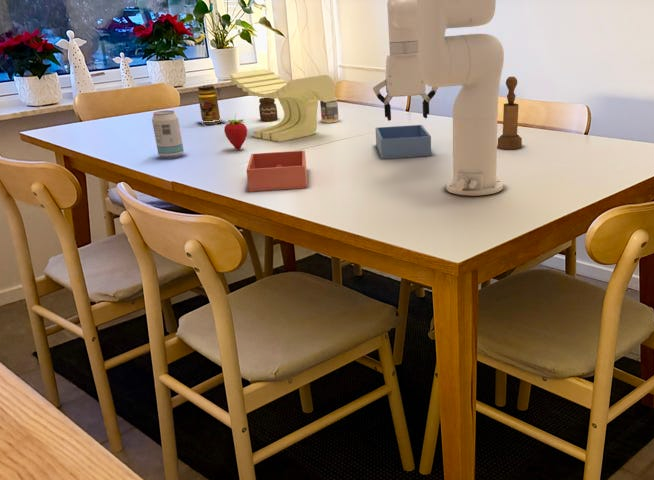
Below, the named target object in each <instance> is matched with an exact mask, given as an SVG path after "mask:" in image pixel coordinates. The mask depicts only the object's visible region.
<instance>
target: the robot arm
mask: <svg viewBox="0 0 654 480" xmlns="http://www.w3.org/2000/svg"><path fill="white" fill-rule="evenodd" d="M496 1H497V0H387V2H386V5H387V6H386V7H387V26H388V27H387V28H388V45H389V55H386V59H385V79H383V80H382V81H381V82H379V83H377V84H376V85H374V86H373V87H372V90H373V92H374V94H375V96H376V98H377V99H378V100H379V101H380V102H381V103H382V104H383V106H384V117H385V118H387V121H388V122H390V121H392V109H391V107H392V106H391V104H390V102H391V101H392V99H393V97H395V98H397V97H399V98H400V97H413V96H415V97H416V96H420V97H421V98H422V99H423V101H422V117H423V118H424V119H428V115H430V102H431V100H432V99H433V98H434V97H435V95H436V93H437V91H438V89H439V88H447V87H457V86H461V88H460V90H459V92H458V93H457V95H456V97H455V99H454V103H453V106H452V179H451V180H449V181H447V183H445V187H446V188H445V189H446V191H447V192H449V193H451V194H453V195H454V194H455V195H459V196H470V197H471V196H472V197H474V196H486V195H493V194H496V193H499V192H501V191H502V190H503V189H504V183H503V181H501V180H500V179H498V178H497V164H498V163H497V157H498V118H499V117H498V115H499V114H498V113H499V93H500V84H501V78H502V73H503V68H504V60H505V53H504V52H505V51H504V47H503V44H502V42H501V41H500V39H498V38H497V37H496V36H494V35H492V34H487V33H469V34H468V33H467V34H457V35H446V30H448V29H461V28H473V27H480V26H484V25H487V24H489V23H490V22H491V21H492V20H493V18H494V16H495V12H496V4H497V2H496ZM427 87H430V88H431V90H430V91H429V92H428V93H426V88H427ZM383 88H385V91H386V96H385V97H384V95H382V93H381V92H380V90H381V89H383Z"/></svg>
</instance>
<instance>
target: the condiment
mask: <svg viewBox="0 0 654 480" xmlns="http://www.w3.org/2000/svg"><path fill="white" fill-rule="evenodd" d="M218 101H219V100H218V96H217V93H216V90H215V86H214V85H202V86H198V103H199V110H200V116H201V121H202V120H203V121H213V120H219V119H220V120H221V115H220V109H219V108H220V107H219V102H218ZM220 120H219V121H215V122H203V121H202V122H203V124H215V125H218V124H217V123H220Z"/></svg>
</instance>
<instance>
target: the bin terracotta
mask: <svg viewBox="0 0 654 480" xmlns="http://www.w3.org/2000/svg"><path fill="white" fill-rule="evenodd" d="M278 164H280V165H282V166H283V167H276V165H278ZM307 169H308V168H307V159H306V151H305V150H290V151H275V152H258V153H257V152H256V153H251V154H250V157H249V160H248V163H247V167H246V177H247V184H248V185H247V186H248V191H249V192H263V191H265V192H266V191H280V190H295V189H307V187H308V170H307Z"/></svg>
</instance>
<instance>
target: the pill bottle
mask: <svg viewBox="0 0 654 480" xmlns="http://www.w3.org/2000/svg"><path fill="white" fill-rule="evenodd" d="M319 103H320V106H319V107H320V117H321V122H322V123H324V124H325V123H327V124H330V123H331V124H332V123H337V122H338V121H339V105H338V98H337V97H336V96H335V101H330V102H322V101H319Z"/></svg>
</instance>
